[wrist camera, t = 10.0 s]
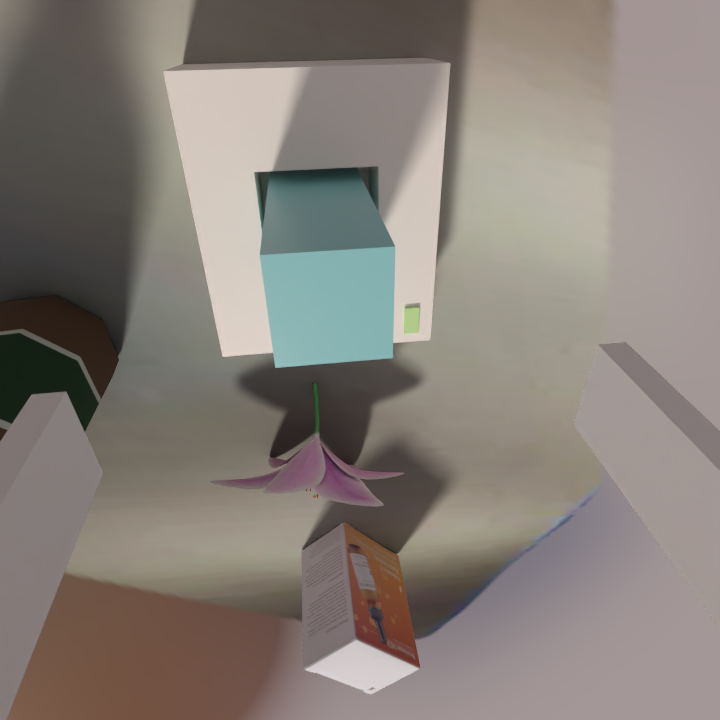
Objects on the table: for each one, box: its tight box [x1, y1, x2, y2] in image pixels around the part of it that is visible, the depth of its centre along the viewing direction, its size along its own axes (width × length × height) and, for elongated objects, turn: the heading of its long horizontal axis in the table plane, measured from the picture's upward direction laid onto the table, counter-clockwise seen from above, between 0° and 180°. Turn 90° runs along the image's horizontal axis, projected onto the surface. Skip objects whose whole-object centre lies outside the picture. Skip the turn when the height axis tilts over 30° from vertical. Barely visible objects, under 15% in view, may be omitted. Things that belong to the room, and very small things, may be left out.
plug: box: [260, 167, 395, 368], centre depth 23 cm, size 4×4×12 cm
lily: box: [210, 383, 404, 507], centre depth 34 cm, size 12×12×10 cm
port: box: [163, 58, 450, 357], centre depth 26 cm, size 14×12×5 cm
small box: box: [302, 522, 420, 694], centre depth 43 cm, size 8×6×10 cm
